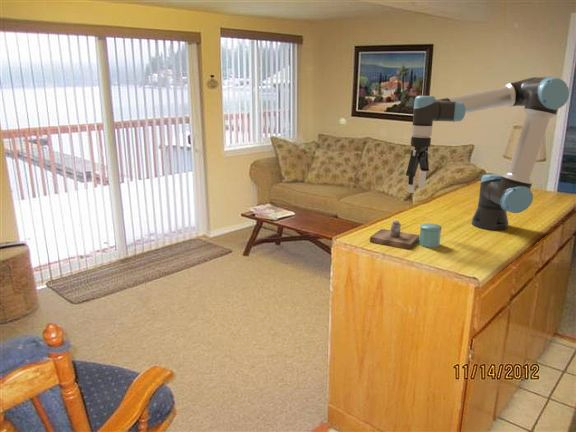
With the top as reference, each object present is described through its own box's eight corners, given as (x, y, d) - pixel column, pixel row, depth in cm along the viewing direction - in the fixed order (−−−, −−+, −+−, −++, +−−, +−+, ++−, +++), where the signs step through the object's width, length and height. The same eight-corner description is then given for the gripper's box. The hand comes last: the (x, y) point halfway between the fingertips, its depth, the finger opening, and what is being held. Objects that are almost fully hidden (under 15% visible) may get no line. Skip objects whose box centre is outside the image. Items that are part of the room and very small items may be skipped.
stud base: (419, 239, 195) (420, 220, 193) (409, 249, 184) (411, 229, 182) (381, 233, 203) (382, 214, 201) (369, 241, 192) (371, 222, 190)
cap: (441, 243, 191) (443, 225, 189) (436, 249, 185) (438, 230, 182) (422, 240, 195) (423, 222, 193) (416, 245, 188) (418, 227, 186)
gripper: (421, 133, 201) (417, 183, 207) (400, 138, 181) (396, 193, 187) (440, 134, 197) (434, 185, 203) (420, 140, 177) (415, 196, 183)
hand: (416, 189), depth 195 cm, fingers open, 13 cm apart
